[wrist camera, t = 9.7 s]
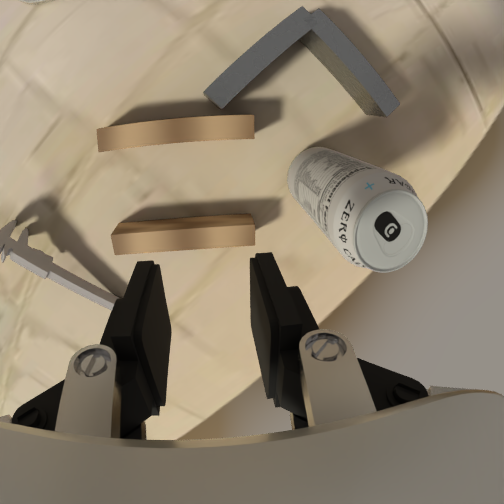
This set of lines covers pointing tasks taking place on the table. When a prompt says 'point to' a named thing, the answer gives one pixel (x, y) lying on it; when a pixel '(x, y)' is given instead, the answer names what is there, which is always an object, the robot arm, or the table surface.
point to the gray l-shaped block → (327, 52)
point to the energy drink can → (359, 208)
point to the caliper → (49, 267)
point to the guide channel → (180, 229)
